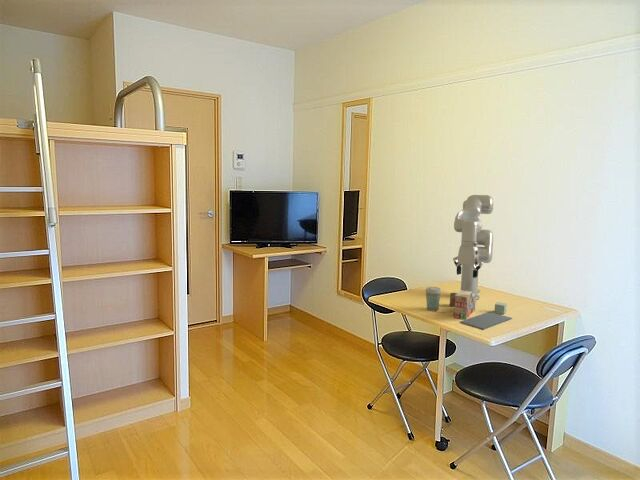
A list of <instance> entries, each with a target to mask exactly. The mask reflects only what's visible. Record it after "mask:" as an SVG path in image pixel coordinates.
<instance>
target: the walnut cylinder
mask: <svg viewBox="0 0 640 480" xmlns="http://www.w3.org/2000/svg"><path fill="white" fill-rule="evenodd" d="M457 293H458V292H450V294H449V296H450V297H449V306H450V307H451V306H452V308H455V295H456V294H457Z"/></svg>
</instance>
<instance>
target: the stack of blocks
mask: <svg viewBox="0 0 640 480" xmlns="http://www.w3.org/2000/svg"><path fill="white" fill-rule="evenodd" d="M456 293H457V294H456V295H455V307H454V309H453V310H454V311H453V312H454V313H453V318H454V319H460V320H466V319H469V317H470V316H471V314H472V313H474V312H475V310H476V302H477V301H476V299H475V298H476V293H472V292H471V291H463V290H461V289H460V290H459V291H458V292H456Z"/></svg>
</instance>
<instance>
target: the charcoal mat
mask: <svg viewBox="0 0 640 480" xmlns="http://www.w3.org/2000/svg"><path fill="white" fill-rule="evenodd" d="M512 319H513V317H510V316H507V315H503V314H498V313H494V312H493V311H492V312H491V311H487V312H484V313H482V314H479V315H476V316H472V317H470V318H469V317H468V318H467V319H466V320H465V319H462V320H461V321H459V323H460V324H463V325H467V326H470V327H472V328H476V329H480V330H483V331H484V330H486V329H488V328H492V327H494V326H496V325H500V324H502V323H505V322H508V321H510V320H512Z"/></svg>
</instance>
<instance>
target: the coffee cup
mask: <svg viewBox="0 0 640 480" xmlns="http://www.w3.org/2000/svg"><path fill="white" fill-rule="evenodd" d="M441 294H442V289H441V288H440V287H437V286H427V287H426V289H425V297H426V310H427V309H428V310H427V311H430V312H431V311H432V312H437V311H439V306H440V301H441Z"/></svg>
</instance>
